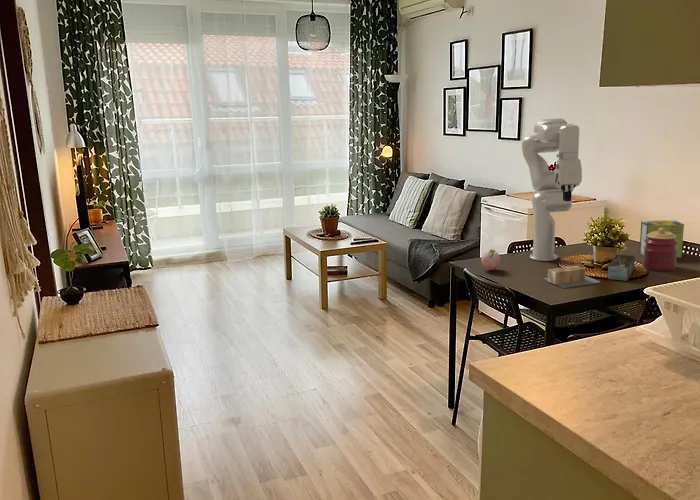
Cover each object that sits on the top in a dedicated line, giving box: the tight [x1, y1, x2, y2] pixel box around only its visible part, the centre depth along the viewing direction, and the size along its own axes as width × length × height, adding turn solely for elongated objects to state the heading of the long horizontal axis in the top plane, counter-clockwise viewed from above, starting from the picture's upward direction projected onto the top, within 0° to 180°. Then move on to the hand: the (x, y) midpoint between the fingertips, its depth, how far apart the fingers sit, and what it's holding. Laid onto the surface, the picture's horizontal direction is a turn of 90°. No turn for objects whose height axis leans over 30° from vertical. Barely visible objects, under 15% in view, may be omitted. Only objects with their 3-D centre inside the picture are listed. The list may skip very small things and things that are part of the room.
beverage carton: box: [607, 254, 636, 282], centre depth 248 cm, size 8×19×7 cm, turn 147°
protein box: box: [638, 219, 685, 259], centre depth 272 cm, size 10×15×16 cm
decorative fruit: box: [480, 248, 501, 271], centre depth 263 cm, size 9×8×10 cm
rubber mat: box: [542, 275, 601, 289], centre depth 243 cm, size 14×18×1 cm
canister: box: [642, 228, 678, 272], centre depth 252 cm, size 13×13×18 cm
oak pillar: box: [547, 265, 586, 285], centre depth 241 cm, size 5×5×14 cm
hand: (567, 200), depth 243 cm, fingers closed
